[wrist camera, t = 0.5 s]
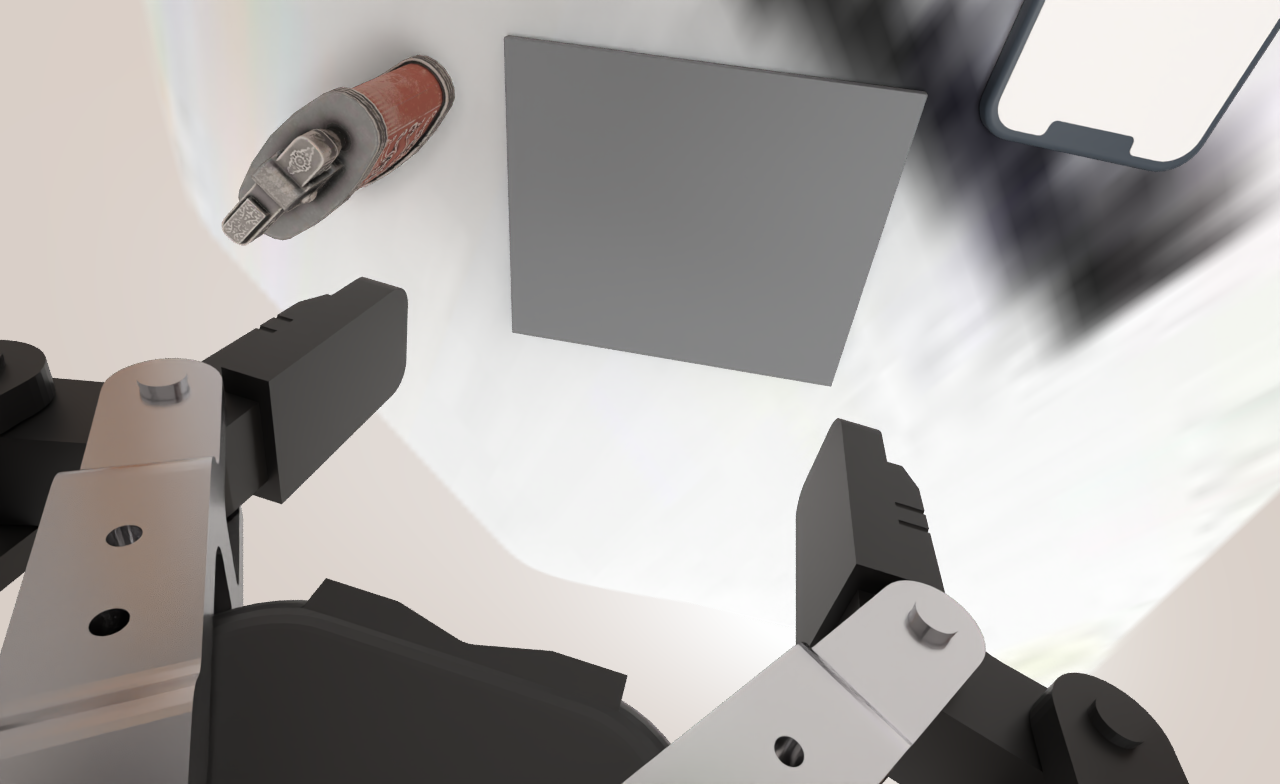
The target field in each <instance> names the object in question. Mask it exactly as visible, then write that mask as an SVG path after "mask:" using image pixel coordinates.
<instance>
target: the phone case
mask: <svg viewBox="0 0 1280 784" xmlns="http://www.w3.org/2000/svg"><path fill="white" fill-rule="evenodd" d="M1279 29H1280V0H1024V2H1023V5H1022V7H1021V9H1020V11H1019V14H1018V16H1017V18H1016V20H1015V23H1014V25H1013V27H1012V29H1011V32H1010V34H1009V36H1008V38H1007V41H1006V43H1005V45H1004V47H1003V50H1002V52H1001V54H1000V56H999V59H998V61H997V63H996V65H995V68H994V70H993V72H992V74H991V77H990V79H989V81H988V84H987V86H986V88H985V90H984V93H983V95H982V98H981V101H980V106H979V112H980V118H981V121H982V123H983V124H984V126H985V127H986V128H987V129H988V130H989V131H990V132H991V133H992V134H993V135H995V136H996V137H998V138H1001V139H1004V140H1008V141H1013V142H1018V143H1022V144H1027V145H1032V146H1036V147H1041V148H1046V149H1050V150H1055V151H1059V152H1064V153H1069V154H1073V155H1078V156H1083V157H1087V158H1092V159H1097V160H1101V161H1106V162H1111V163H1115V164H1120V165H1125V166H1129V167H1134V168H1138V169H1143V170H1148V171H1155V172H1159V171H1167V170H1171V169H1174V168H1176V167H1179V166H1181V165H1182V164H1184V163H1186V162H1187V161H1189V160H1190V159H1191V158H1193V157H1194V156H1195V155H1196V154H1197V153H1198V152H1199V150H1200V149H1201V148H1202V146H1203V145H1204V144H1205V142H1206V141H1207V139H1208V137H1209V136H1210V134H1211V133H1212V131H1213V130H1214V128H1215V127H1216V125H1217V124H1218V122H1219V121H1220V119H1221V118H1222V116H1223V115H1224V113H1225V112H1226V110H1227V109H1228V107H1229V105H1230V104H1231V102H1232V101H1233V99H1234V98H1235V96H1236V95H1237V93H1238V92H1239V90H1240V89H1241V87H1242V86H1243V84H1244V83H1245V81H1246V80H1247V78H1248V77H1249V75H1250V73H1251V72H1252V70H1253V69H1254V67H1255V66H1256V64H1257V63H1258V61H1259V60H1260V58H1261V57H1262V55H1263V54H1264V52H1265V51H1266V49H1267V48H1268V46H1269V45H1270V43H1271V41H1272V40H1273V38H1274V37H1275V35H1276V34H1277V32H1278V31H1279Z"/></svg>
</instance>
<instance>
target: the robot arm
mask: <svg viewBox="0 0 1280 784" xmlns="http://www.w3.org/2000/svg"><path fill="white" fill-rule="evenodd" d="M407 313H408V299H407V295H406V292H405V291H404V290H403V289H402V288H399V287H395V286H392V285H389V284H385V283H382V282H378V281H375V280H372V279H368V278H365V277H361V278H358V279H356V280H355V281H353V282H352V283H350V284H349V285H347V286H345V287H344V288H342V289H341V290H339V291H338V292H336V293H335V294H333V295H328V294H326V295H322V296H319V297H315V298H312V299H308V300H304V301H301V302H298V303H296V304H295V305H293V306H291V307H290V308H288V309H286V310H285V311H283V312H281V313H280V314H278V316H277V318H272V319H270V320H268V321H267V322H265V323H264V324H262V325H260V329H257V328H256V329H254V330H252V331H251V332H249V333H247V334H246V335H244V336H242V337H241V338H239V339H238V340H236V341H234V342H233V343H231V344H229V345H228V346H226V347H225V348H223V349H221V350H220V351H218V352H216V353H215V354H213V355H211V356H210V357H208V358H207V359H205V360H203V361H202V362H200V361H196V360H190V359H181V358H165V359H155V360H149V361H144V362H141V363H137V364H134V365H131V366H128V367H126V368H123V369H121V370H119V371H118V372H116V373H114V374H113V375H112V376H111V377H109V378H108V379H107V380H106V381H105V382H94V381H82V380H71V379H58V378H52V376H51V373H50V370H49V367H48V363H47V360H46V357H45V355H44V354H43V352H42V351H41V350H40V349H38V348H36V347H34V346H32V345H29V344H26V343H22V342H17V341H9V340H0V591H2V590H3V589H4V588H5V587H7V585H9V584H10V583H11V582H12V581H14V580H15V579H16V578H18V577H19V576H20V575H21V574H22V573H24V572H25V574H24V577H23V581H22V584H21V587H20V590H19V594H18V597H17V601H16V604H15V608H14V610H13V614H12V617H11V620H10V624H9V627H8V630H7V634H6V637H5V640H4V644H3V647H2V650H1V654H0V784H882V783H883V782H884V781H885V780H886V779H887V778H888V777H890V778H891V779H893V780H894V781H896V782H897V783H899V784H1189V783H1188V780H1187V778H1186V776H1185V774H1184V772H1183V769H1182V767H1181V765H1180V763H1179V761H1178V758H1177V756H1176V754H1175V751H1174V749H1173V747H1172V745H1171V743H1170V741H1169V739H1168V738H1167V736H1166V735H1165V733H1164V732H1163V730H1162V729H1161V727H1160V726H1159V725H1158V724H1157V722H1156V721H1155V720H1154V719H1153V718H1152V717H1151V715H1149V714H1148V712H1147V711H1146V710H1145V709H1144V708H1142V707H1141V706H1140V705H1139V704H1138V703H1137V702H1136V701H1135V700H1133V699H1132V698H1131V697H1129V696H1128V695H1127V694H1126V693H1124V692H1123V691H1121V690H1119V689H1118V688H1116V687H1115V686H1113V685H1111V684H1109V683H1107V682H1106V681H1104V680H1101V679H1099V678H1096V677H1094V676H1090V675H1087V674H1082V673H1067V674H1064V675H1062V676H1060V677H1059V678H1057V679H1056V680H1055V682H1054V683H1053V684H1052V685H1051V686H1050V687H1049V688H1046V687H1044V686H1042V685H1041V684H1039V683H1037V682H1035V681H1034V680H1032V679H1030V678H1028V677H1027V676H1025V675H1023V674H1021V673H1020V672H1018V671H1016V670H1014V669H1013V668H1011V667H1009V666H1007V665H1006V664H1004V663H1002V662H1000V661H999V660H997V659H996V658H994V657H992V656H991V655H990V654H988V653H987V652H986V648H985V641H984V637H983V635H982V632H981V630H980V628H979V627H978V625H977V623H976V622H975V620H974V619H973V618H972V616H971V615H970V614H969V613H968V612H967V611H966V610H965V609H964V608H963V607H962V606H961V605H960V604H959V603H958V602H956V601H955V600H954V599H953V598H951V597H950V596H948V595H947V594H945V591H944V587H943V583H942V579H941V575H940V571H939V567H938V563H937V559H936V555H935V551H934V547H933V543H932V539H931V535H930V533H928V529H929V527H928V523H927V519H926V515H924V514H923V513H924V507H923V503H922V499H921V495H920V491H919V488H918V487H917V486H916V484H915V483H914V482H913V480H912V479H911V478H910V476H909V475H908V473H907V472H906V471H905V469H904V468H903V467H902V466H899V465H896V464H893V463H889V462H887V459H886V454H885V449H884V444H883V439H882V434H881V432H880V431H879V430H877V429H873V428H870V427H867V426H863V425H860V424H856V423H853V422H850V421H846V420H843V419H839V418H838V419H836V420H835V421H834V422H833V424H832V425H831V427H830V429H829V431H828V433H827V436H826V438H825V440H824V442H823V444H822V446H821V448H820V451H819V453H818V455H817V457H816V459H815V461H814V464H813V466H812V468H811V470H810V472H809V474H808V476H807V479H806V481H805V483H804V485H803V488H802V491H801V494H800V497H799V501H798V506H797V511H796V645H795V646H794V647H792V648H791V649H789V650H788V651H787V652H786V653H784V654H783V655H782V656H781V657H779V658H778V659H777V660H776V661H774V662H773V663H772V664H771V665H769V666H768V667H767V668H766V669H764V670H763V671H762V672H761V673H759V674H758V675H757V676H756V677H754V678H753V679H752V680H751V681H749V682H748V683H747V684H746V685H744V686H743V687H742V688H741V689H739V690H738V691H737V692H736V693H734V694H733V695H732V696H731V697H729V698H728V699H727V700H726V701H724V702H723V703H722V704H721V705H719V706H718V707H717V708H716V709H714V710H713V711H712V712H711V713H709V714H708V715H707V716H706V717H704V718H703V719H702V720H701V721H699V722H698V723H697V724H696V725H694V726H693V727H692V728H691V729H689V730H688V731H687V732H686V733H684V734H683V735H682V736H681V737H679V738H678V739H677V740H676V741H674V742H673V743H672V744H670V742H669V741H668V740H667V739H666V737H665V736H664V735H663V734H662V733H661V732H660V731H659V730H658V729H657V728H656V727H655V726H654V725H653V724H652V723H651V722H650V721H649V720H648V719H647V718H645V717H644V716H643V715H642V714H640V713H639V712H638V711H637V710H635V709H634V708H633V707H631V706H630V705H628V704H626V703H624V702H623V701H622V700H621V699H622V695H623V691H624V687H625V683H626V679H627V675H624V674H621V673H618V672H615V671H612V670H609V669H606V668H603V667H600V666H597V665H594V664H590V663H587V662H584V661H581V660H578V659H575V658H572V657H569V656H565V655H562V654H559V653H556V652H553V651H544V650H532V649H520V648H507V647H496V646H483V645H473V644H468V643H465V642H462V641H460V640H458V639H457V638H455V637H454V636H452V635H450V634H449V633H447V632H446V631H444V630H443V629H441V628H439V627H438V626H436V625H435V624H433V623H431V622H430V621H428V620H427V619H425V618H424V617H422V616H420V615H419V614H417V613H416V612H414V611H413V610H411V609H409V608H408V607H406V606H404V605H403V604H402V603H400V602H398V601H395V600H392V599H389V598H386V597H383V596H380V595H376V594H373V593H370V592H367V591H364V590H361V589H358V588H355V587H352V586H348V585H346V584H342V583H339V582H336V581H333V580H330V579H327V578H326V579H325V580H324V581H323V583H322V584H321V585H320V587H319V588H318V589H317V590H316V591H315V593H314V594H313V595H312V596H311V598H310V599H309V600H308V601H307V600H286V601H285V600H284V601H272V602H264V603H257V604H252V605H247V606H243V515H242V508H241V505H242V504H243V503H244V502H245V501H246V500H247V499H248V498H250V497H251V496H252V495H255V496H258V497H261V498H265V499H267V500H270V501H274V502H277V503H280V504H282V503H283V502H284V501H286V499H287V498H289V497H290V496H291V494H293V493H294V492H295V491H296V490H297V489H298V488H299V486H301V484H303V483H304V482H305V481H306V480H307V479H308V478H309V477H310V476H311V475H312V474H313V473H314V472H315V471H316V470H317V469H318V468H319V467H320V466H321V465H322V464H323V463H324V462H325V461H326V460H327V459H328V458H329V457H330V456H331V455H332V454H333V453H334V452H335V451H336V450H337V449H338V448H339V447H340V446H341V445H342V444H343V443H344V442H345V441H346V440H347V439H348V438H349V437H350V436H351V435H352V434H353V433H354V432H355V431H356V430H357V429H358V428H359V427H360V426H361V425H363V423H365V422H366V420H368V418H370V417H371V416H372V415H373V414H374V413H375V412H376V411H377V410H378V409H379V408H380V407H381V406H382V405H383V404H384V403H385V402H386V401H387V400H388V399H389V398H390V397H391V396H392V395H393V394H394V393H395V391H396V390H397V388H398V387H399V385H400V383H401V381H402V378H403V375H404V372H405V367H406V349H407Z"/></svg>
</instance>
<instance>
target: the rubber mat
mask: <svg viewBox="0 0 1280 784" xmlns="http://www.w3.org/2000/svg"><path fill="white" fill-rule="evenodd" d="M504 57H505V92H506V127H507V162H508V197H509V232H510V267H511V302H512V332H513V333H519V334H524V335H530V336H536V337H542V338H548V339H554V340H560V341H566V342H572V343H577V344H583V345H589V346H595V347H601V348H607V349H613V350H619V351H625V352H631V353H636V354H642V355H648V356H654V357H660V358H666V359H672V360H678V361H684V362H689V363H695V364H701V365H707V366H713V367H719V368H725V369H731V370H737V371H742V372H748V373H754V374H760V375H766V376H772V377H778V378H784V379H790V380H796V381H801V382H807V383H813V384H819V385H825V386H831V385H832V382H833V379H834V376H835V373H836V370H837V367H838V364H839V361H840V358H841V355H842V352H843V349H844V346H845V343H846V340H847V337H848V334H849V331H850V328H851V325H852V322H853V319H854V316H855V313H856V310H857V307H858V304H859V300H860V297H861V294H862V291H863V288H864V285H865V282H866V279H867V276H868V273H869V270H870V267H871V264H872V261H873V258H874V255H875V252H876V249H877V246H878V243H879V240H880V237H881V234H882V231H883V228H884V225H885V222H886V219H887V216H888V213H889V210H890V207H891V204H892V201H893V198H894V195H895V192H896V189H897V186H898V183H899V180H900V177H901V174H902V171H903V168H904V165H905V162H906V159H907V156H908V153H909V150H910V147H911V144H912V141H913V138H914V135H915V132H916V129H917V126H918V122H919V119H920V116H921V113H922V110H923V107H924V104H925V101H926V98H927V93H926V92H924V91H917V90H910V89H902V88H895V87H887V86H880V85H872V84H865V83H858V82H850V81H843V80H835V79H828V78H820V77H813V76H806V75H798V74H791V73H783V72H776V71H768V70H761V69H753V68H746V67H739V66H731V65H724V64H716V63H709V62H701V61H694V60H687V59H679V58H672V57H664V56H657V55H649V54H642V53H635V52H627V51H620V50H612V49H605V48H597V47H590V46H583V45H575V44H568V43H560V42H553V41H545V40H538V39H530V38H523V37H516V36H506V37H504Z"/></svg>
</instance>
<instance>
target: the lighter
mask: <svg viewBox="0 0 1280 784" xmlns="http://www.w3.org/2000/svg"><path fill="white" fill-rule="evenodd" d="M454 98H455V94H454V86H453V83H452V80H451V78H450V76H449V75H448V73H447V71H446V70H445V69H444V68H443V67H442V66H441V65H440V64H439V63H438V62H437V61H436V60H434V59H432V58H430V57H428V56H423V55H417V56H413V57H410V58H408V59H406V60H403V61H402V62H400V63H399V64H397V65H395V66H394V67H392V68H391V69H389V70H388V71H386V72H385V73H383V74H382V75H380V76H378V77H377V78H375V79H372V80H370V81H368V82H365V83H363V84H361V85H358V86H356V87H354V88H345V87H340V88H337V89H334V90H331V91H329V92H327V93H324V94H322V95H321V96H319V97H318V98H316V99H315V100H313V101H312V102H310V103H309V104H307V105H306V106H304V107H303V108H301V109H299V110H298V111H296V112H295V113H294V114H293V115H292V116H291V117H290V118H289V119H287V120H286V121H285V122H284V123H283V124H282V125H281V126H280V127H279V128H278V129H277V130H276V131H275V132H274V133H273V134H272V135H271V136H270V137H269V138H268V140H267V141H266V143H265V144H264V146H263V147H262V149H261V150H260V152H259V153H258V154H257V156H256V157H255V159H254V160H253V162H252V164H251V166H250V168H249V170H248V172H247V174H246V177H245V179H244V181H243V183H242V185H241V188H240V190H239V197H238V198H239V202H238V204H237V205H236V206H235V207H234V208H233V209H232V210H231V211H230V213H229V214H228V215H227V216H226V217H225V218H224V219H223V221H222V230H223V232H224V233H225V235H226V236H227V237H228V238H230V239H231V240H232V241H233V242H235V243H237V244H239V245H242V246H243V245H247V244H249V243H250V242H252V241H253V240H255V239H256V238H258V237H260V236H261V235H263V234H265V235H268V236H270V237H272V238H274V239H279V240H286V239H291V238H292V237H294V236H296V235H298V234H300V233H301V232H303V231H305V230H307V229H309V228H310V227H312V226H314V225H316V224H317V223H319V222H320V221H321V220H323V219H324V218H326V217H327V216H328V215H329V214H331V213H332V212H333V211H334V210H336V209H337V208H338V207H339V206H341V205H342V204H343V203H344V202H346V201H347V200H348V199H349V198H350V197H351V195H352V194H353V193H354V192H355V191H356V190H358V189H359V188H362V187H366V186H368V185H370V184H372V183H373V182H375V181H377V180H379V179H380V178H382V177H384V176H386V175H388V174H389V173H391V172H392V171H393V170H395V169H396V168H398V167H399V166H400V165H401V164H403V163H404V162H405V161H406V160H408V159H409V158H410V157H411V156H413V155H414V154H415V153H417V152H418V151H419V149H420V148H421V147H422V146H423V145H424V144H425V143H426V141H427V140H428V139H429V138H430V137H431V136H432V135H433V133H434V132H435V131H436V130H437V128H438V127H439V125H440V124H441V122H442V121H443V119H444V117H445V116H446V114H447V113H448V111H449V110H450V108H451V106H452V104H453V101H454Z"/></svg>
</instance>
